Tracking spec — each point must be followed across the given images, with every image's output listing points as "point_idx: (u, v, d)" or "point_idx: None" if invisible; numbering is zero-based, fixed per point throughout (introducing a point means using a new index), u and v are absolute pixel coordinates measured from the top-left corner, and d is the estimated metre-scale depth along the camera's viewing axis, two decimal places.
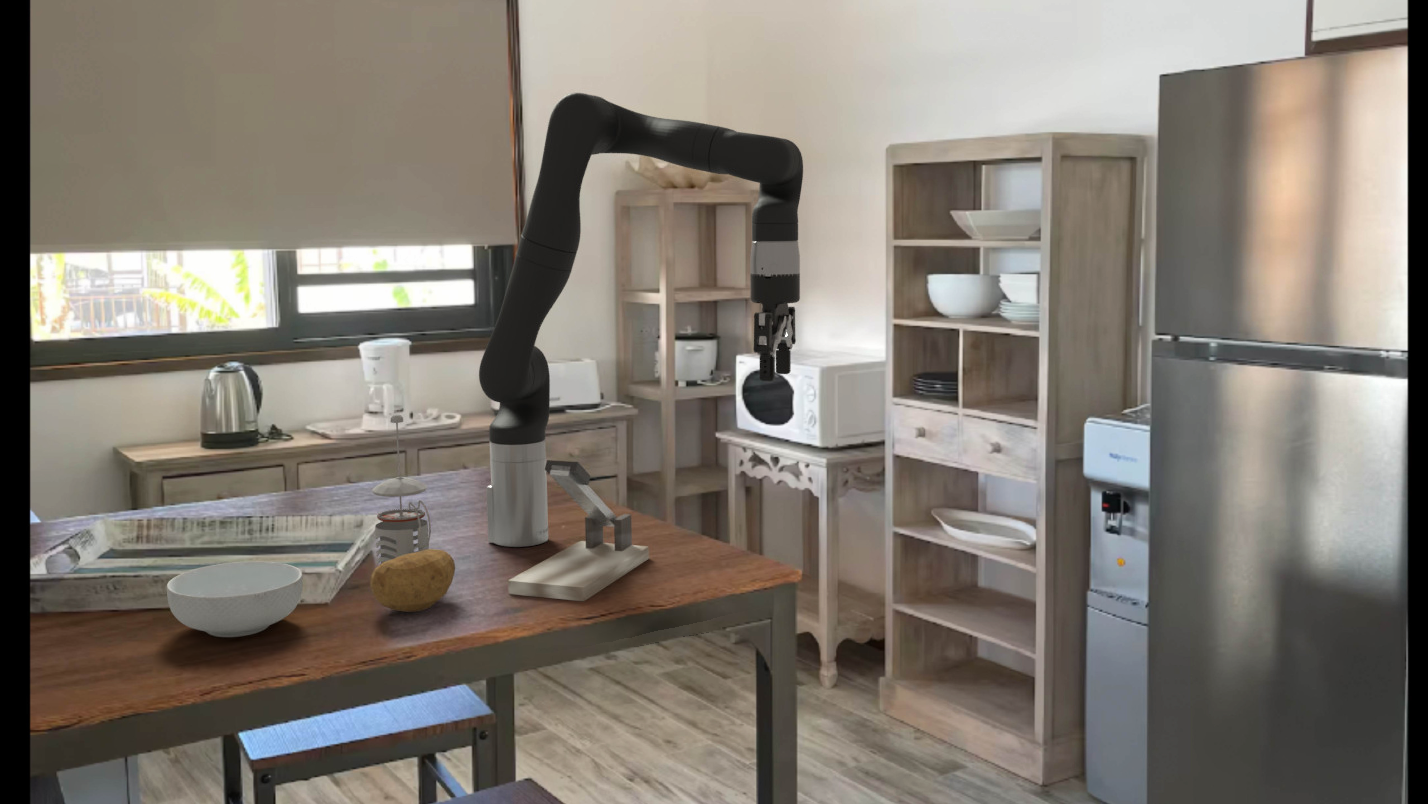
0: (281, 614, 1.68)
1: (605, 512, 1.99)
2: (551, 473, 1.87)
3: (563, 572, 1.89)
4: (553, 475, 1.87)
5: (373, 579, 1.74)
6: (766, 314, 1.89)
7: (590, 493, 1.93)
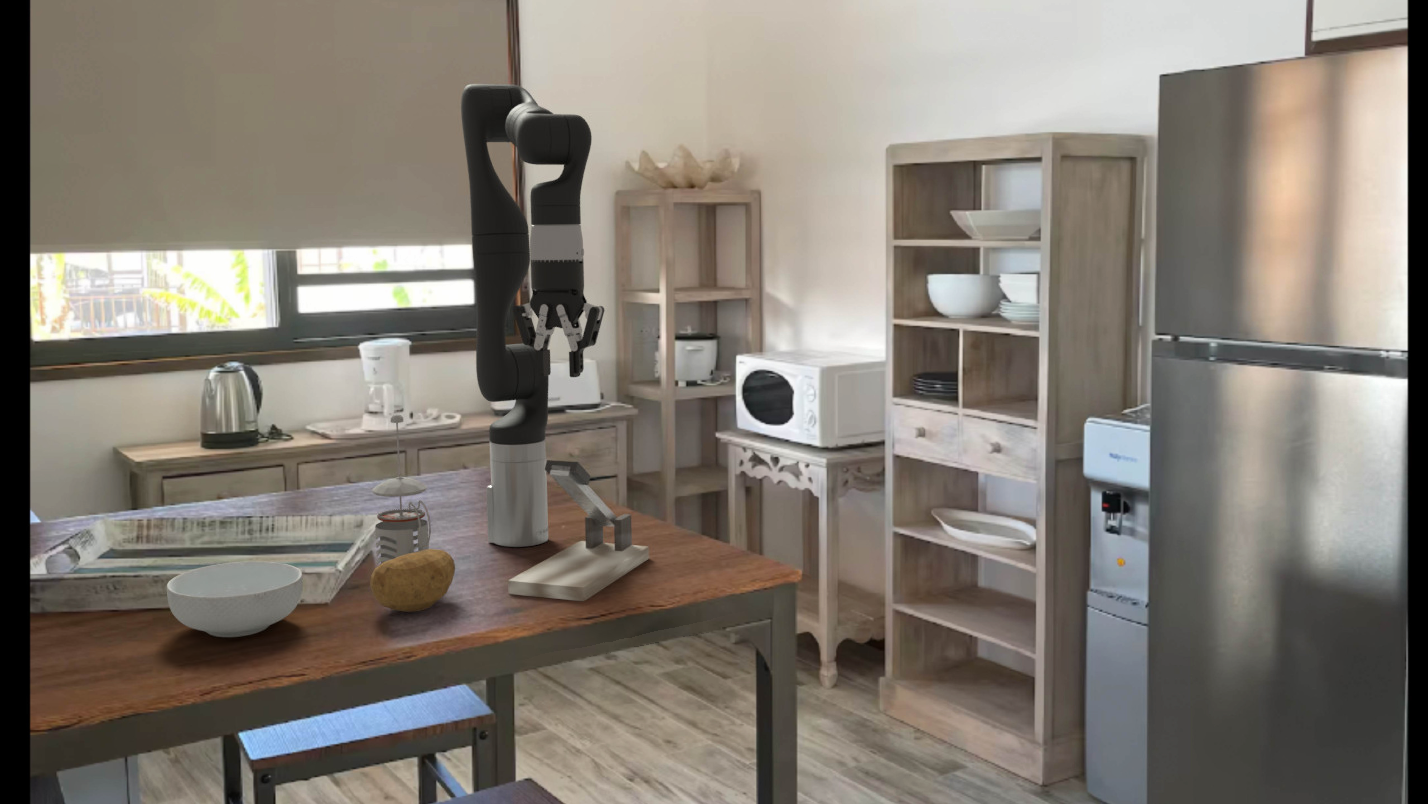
0: (281, 614, 1.68)
1: (605, 512, 1.99)
2: (551, 473, 1.87)
3: (563, 572, 1.89)
4: (553, 475, 1.87)
5: (373, 579, 1.74)
6: (602, 309, 1.82)
7: (590, 493, 1.93)
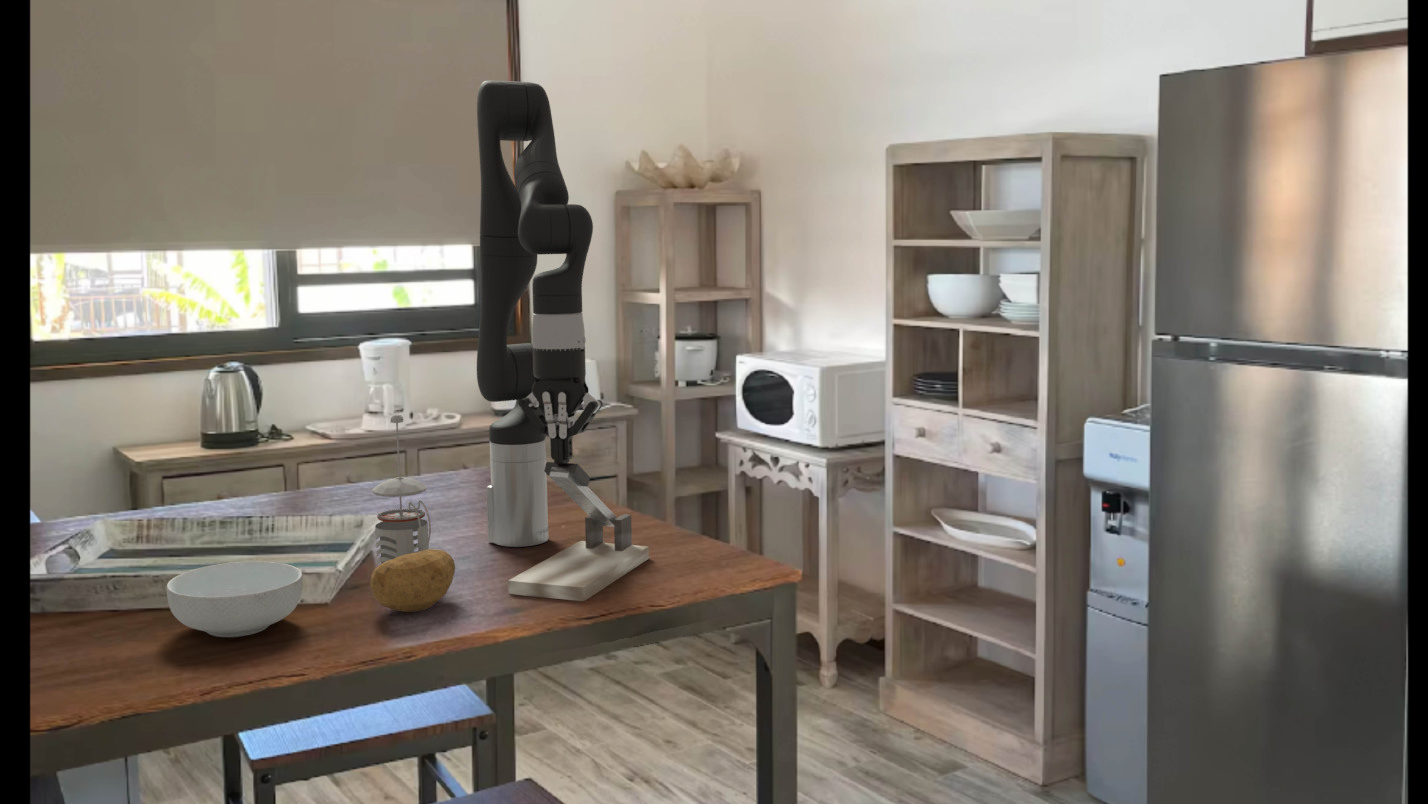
0: (281, 614, 1.68)
1: (605, 513, 1.99)
2: (551, 475, 1.87)
3: (563, 572, 1.89)
4: (553, 477, 1.87)
5: (373, 579, 1.74)
6: (600, 404, 1.84)
7: (590, 494, 1.93)
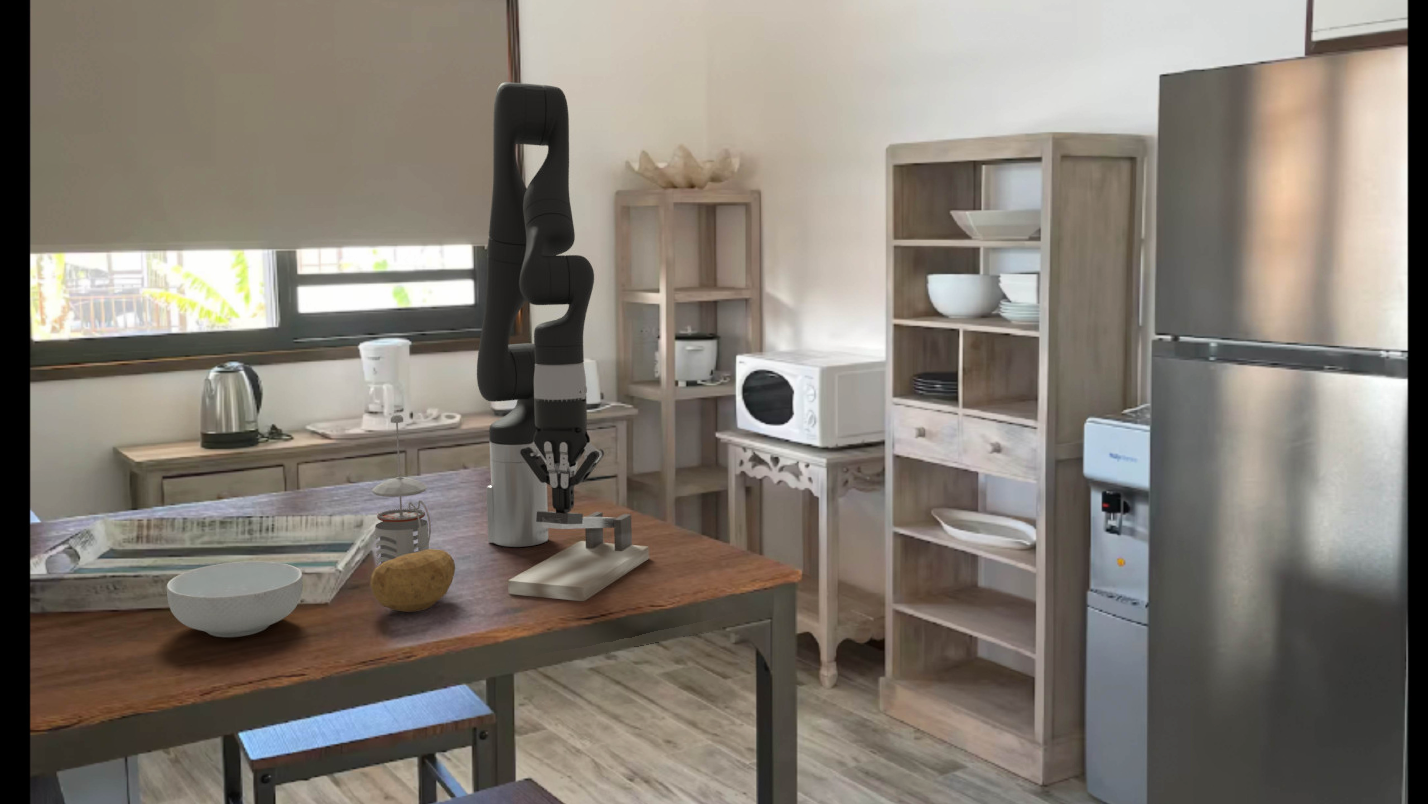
0: (281, 614, 1.68)
1: (604, 524, 1.98)
2: (543, 526, 1.85)
3: (563, 572, 1.89)
4: (546, 527, 1.85)
5: (373, 579, 1.74)
6: (602, 454, 1.85)
7: (585, 522, 1.92)
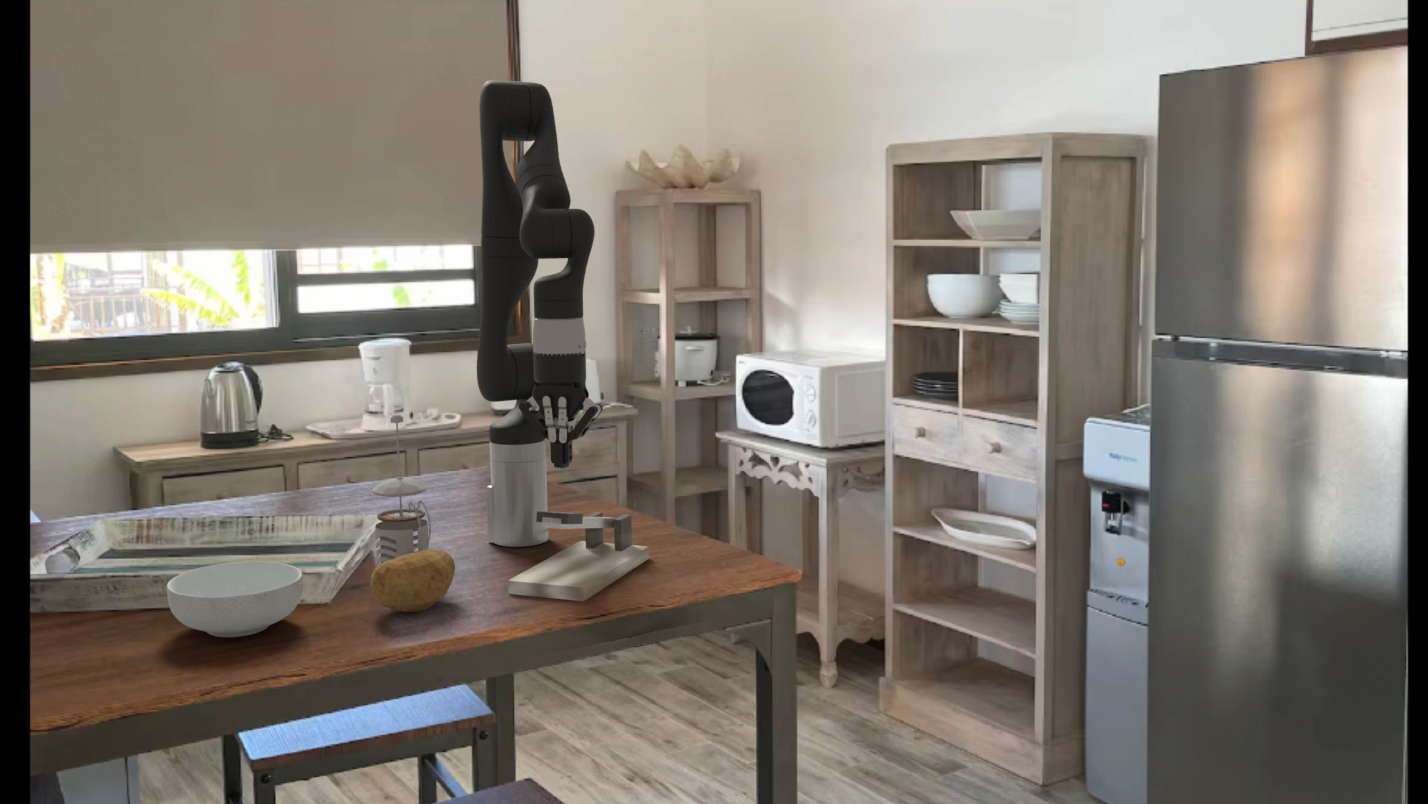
0: (281, 614, 1.68)
1: (604, 524, 1.98)
2: (543, 526, 1.85)
3: (563, 572, 1.89)
4: (546, 527, 1.85)
5: (373, 579, 1.74)
6: (601, 409, 1.84)
7: (585, 522, 1.92)
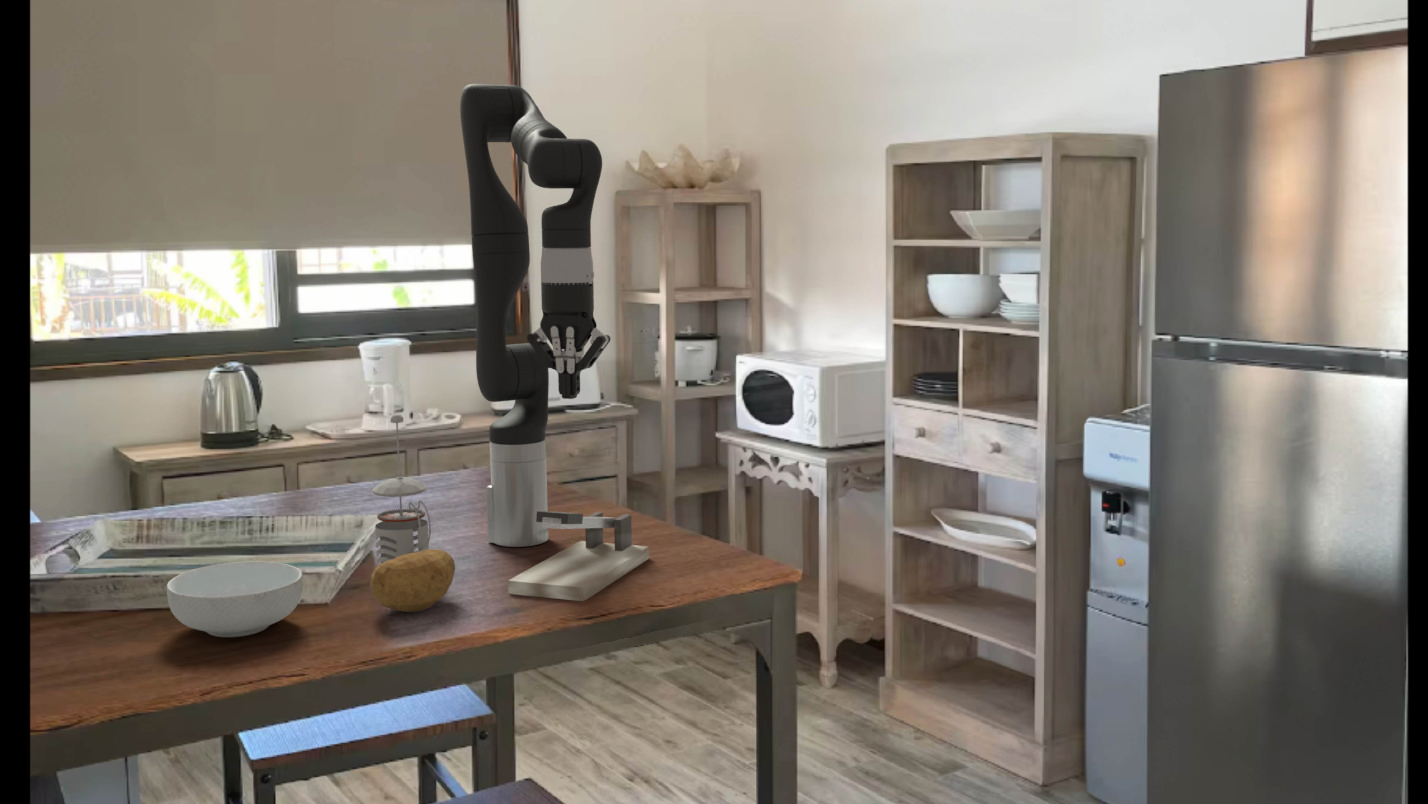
0: (281, 614, 1.68)
1: (604, 524, 1.98)
2: (543, 526, 1.85)
3: (563, 572, 1.89)
4: (546, 527, 1.85)
5: (373, 579, 1.74)
6: (608, 339, 1.85)
7: (585, 522, 1.92)
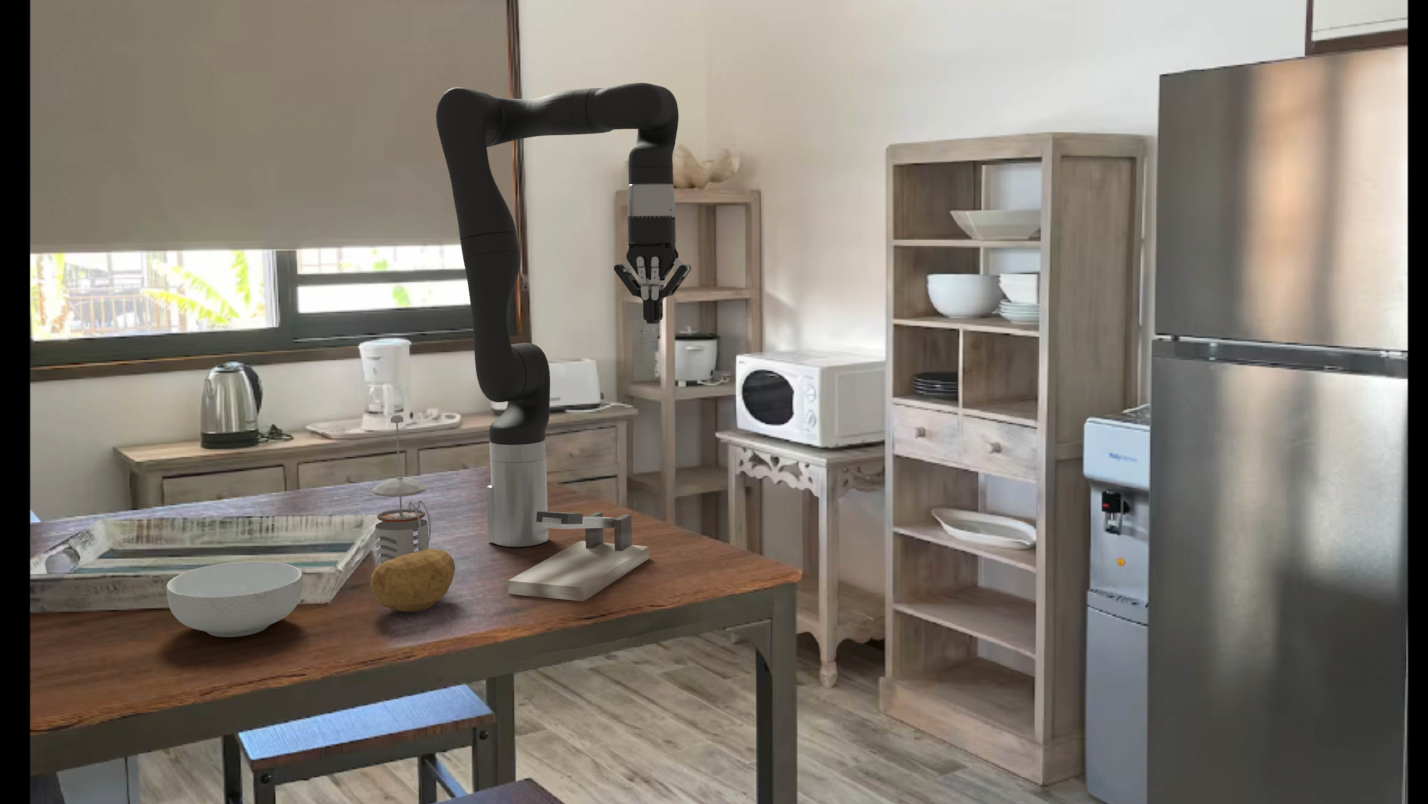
0: (281, 614, 1.68)
1: (604, 524, 1.98)
2: (543, 526, 1.85)
3: (563, 572, 1.89)
4: (546, 527, 1.85)
5: (373, 579, 1.74)
6: (689, 268, 2.02)
7: (585, 522, 1.92)
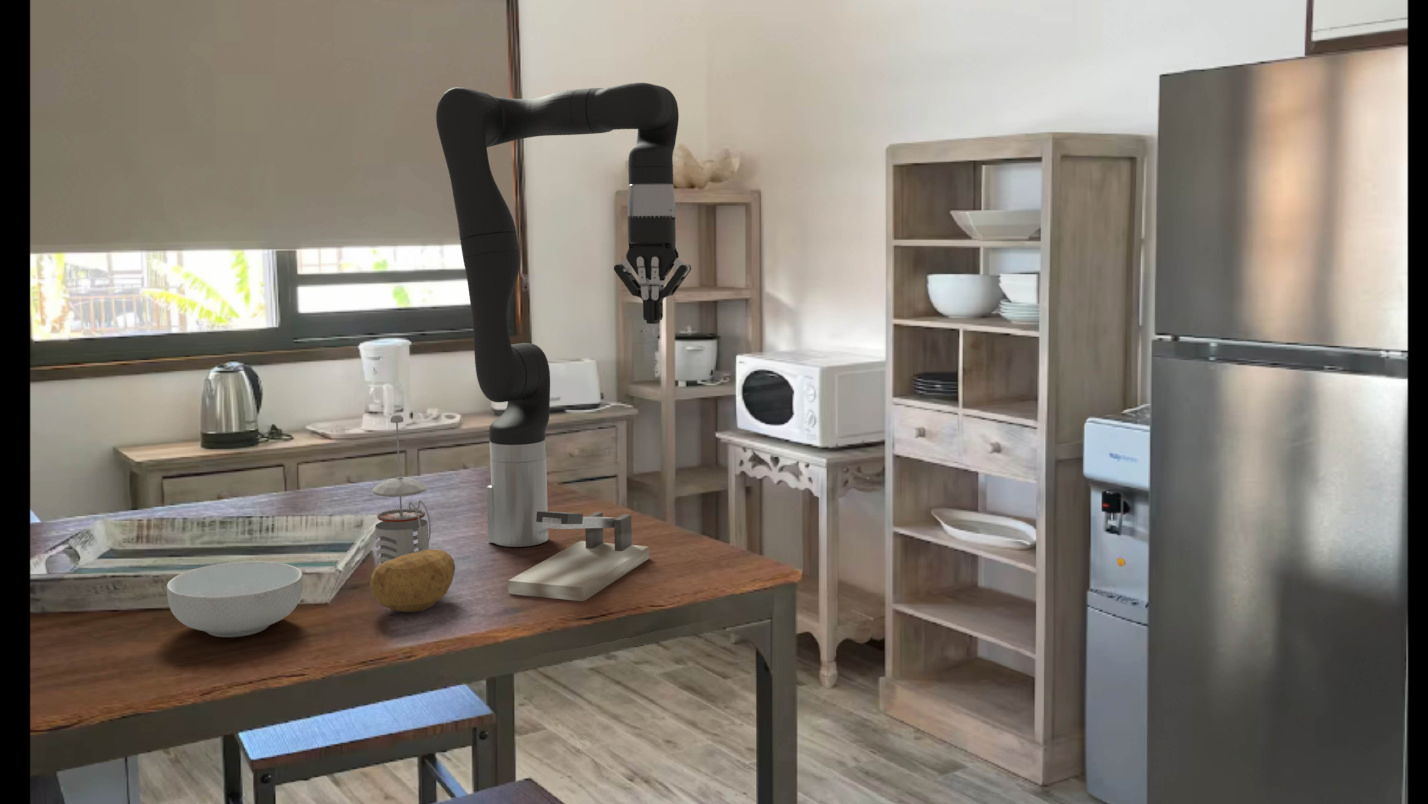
0: (281, 614, 1.68)
1: (604, 524, 1.98)
2: (543, 526, 1.85)
3: (563, 572, 1.89)
4: (546, 527, 1.85)
5: (373, 579, 1.74)
6: (689, 268, 2.02)
7: (585, 522, 1.92)
